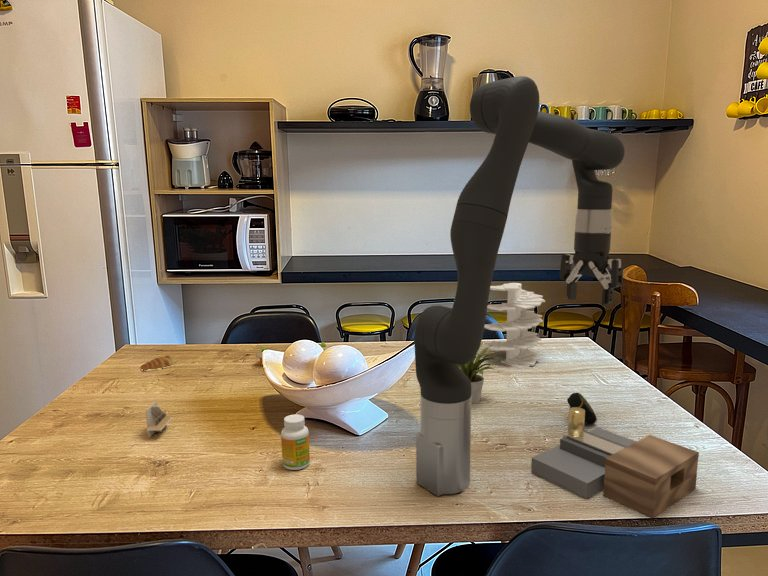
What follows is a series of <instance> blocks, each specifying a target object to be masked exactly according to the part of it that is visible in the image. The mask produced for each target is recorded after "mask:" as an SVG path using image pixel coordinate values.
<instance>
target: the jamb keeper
mask: <svg viewBox="0 0 768 576" xmlns="http://www.w3.org/2000/svg"><path fill="white" fill-rule="evenodd" d="M699 455H700V452H699V451H697V450H694V449H691V448H688V447H685V446H683V445H680V444H677V443H673V442H671V441H668V440H666V439H662V438H661V437H660V438H659V437H657V436H653V435H651V434H648V435H647V436H646V437H643V438H642V439H640V440H638V441H636V442H635V443H634V444H632V445H630V446H628V447H626V448H624V449H622V450H620V451H618V452H616V453H614V454H612V455H611V456H609V457H607V458H605V477H604V488H603V490H602V491H603V492H602V496H605V497H606V498H609V499H611V500H613V501H615V502H617V503H619V504H622V505H624V506H626V507H628V508H631V509H633V510H635V511H636V512H638V513H640V514H643V515H644V516H647V517H650V518H652V519H654V518H656V517H657V516H658V515H659V514H661V513H663V512H664V511H665V510H667V509H668V508H669V507H671V506H672V505H674V504H675V503H677V502H679V501H680V500H681V499H682V498H684V497H685V496H687V495H688V494H689V493H691V492H693V491H694V490H695V489H697V488H696V487H697V478H698V477H697V476H698V465H699V464H698V463H699Z"/></svg>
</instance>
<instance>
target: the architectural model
mask: <svg viewBox="0 0 768 576" xmlns="http://www.w3.org/2000/svg"><path fill="white" fill-rule="evenodd" d="M145 416H146V427H147V428H146V432H147V438H148V439H150V438H151V437H152V436H153V435H154V434H155V433H162V432H163V431H164V428H167V427H168V425H167V424H168V423H169V422H170V421H171V420H172V419H173V416H171V415H168V416H167V412H166V410H165V409H164V410H162V409H161V407H160V406H159V405H158V401H157V400H156V401H154V402H152V404H151V405H150V406H149V407H148V408H147V409H146V410H145Z"/></svg>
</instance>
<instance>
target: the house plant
mask: <svg viewBox="0 0 768 576" xmlns="http://www.w3.org/2000/svg"><path fill="white" fill-rule="evenodd" d="M484 342H485V340H484V341H481V344H480V347H479V349H478V351H477V353H476V355H475V356H474V357H473V359H472V360H471V361H469V362H468V363H466V364H461V365H460V364H457V365H458V367H459V368H460V369H461V371H462V372H463V373H464V374H465V375H466V376H467V377H468V378H469V379H470V381H471V405H473V404H478V403H479V402H480V401H481V396H482V391H483V385H484V380H485V377H484V376H483V375H484V371H485V370H494V371H496V369H495V368H497V367H495V364H492V363H484V362H486V361H490V360H494V359H498V357H492V356H491V357H488V356H490V354H492V353H494V351H490V352H487V351H488V350H489V349H488V348H490V347H491V346H492V345H491V346H488V347H486V348H485V347H484V349H483V350H481V351H480V353H478V352H479V350H480V349H481V346H482V344H484Z"/></svg>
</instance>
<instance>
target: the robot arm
mask: <svg viewBox="0 0 768 576" xmlns="http://www.w3.org/2000/svg"><path fill="white" fill-rule="evenodd" d="M539 108H540V92H539V89H538V85H537V84H536V82H535V80H533V78H530V77H528V76H524V75H523V76H513V77H508V78H502V79H499V80H494V81H490V82H486V83H484V84H482V85H480V86H479V87H477V88H476V89H475V90H474V92H473V93H472V96H471V98H470V102H469V113H470V117H471V120H472V122H473V124H474V125H475V126H476V127H477V128H478V129H479V130H480V131H482V132H483V133H487V134H491V135H495V136H494V138H493V143H492V145H491V148H490V150H489V152H488V153H487V155H486V157H485V158H484V160H483V161H482V163H481V165H480V166H479V167H478V168H477V170H476V171H475V172H474V173H473V175H472V176H471V177H470V178H469V180H468V181H467V183H465V185H464V187H463V188H462V191H461V192H460V194H459V195H458V196H459V197H458V199H457V200H456V201H457V202H456V204H455V205H456V206H455V210H454V213H453V218H452V222H451V226H450V235H449V236H450V237H449V238H450V244H451V248H452V249H451V250H452V255H453V258H454V262H455V266H456V267H455V268H456V272H457V273H456V275H457V283H456V292H455V296H454V301H453V305H452V307H448V306H444V305H443V306H442V305H431V306H428V307H426V308H425V309H424V310H423V311H421V313H420V314H419V316H418V318H417V321H416V324H415V326H414V327H415V328H414V339H413V340H414V341H413V342H414V360H415V361H414V364H415V376H416V379H417V383H418V384H419V387H420V389H419V390H420V433H418V434H417V435H416V437H415V439H416V441H415V445H416V446H415V447H416V450H415V453H416V454H415V455H416V460H415V461H416V463H415V464H416V465H415V466H416V469H415V472H416V473H415V474H416V476H415V478H416V479H415V480H416V483H417V484H418V485H419V486H422V488H424V489H426V490H428V491H429V492H431V493H433V494H434V495H436V496H438V497H440V496H441V495H451V494H452V495H453V494H457V493H461V492H463V491H465V490H466V489H468V488H469V486H470V483H471V445H472V444H471V441H472V440H471V438H472V437H471V436H472V434H471V433H472V428H471V427H472V404H471V381H470V379H469V378H468V377H467V376H466V375H465V374H464V373H463V372H462V371H461V369H460V368H459V367H458V365H457V364H460V365H461V364H466V363H468V362H469V361H471V360H472V359H473V357H474V356H475V355H476V353H478V352H479V350H480V348H481V347H480V344H481V343H482V342H483V341H482V340H483V337H484V331H485V328H484V326H485V324H486V318H487V311H488V308H487V305H489V299H490V298H489V297H490V291H491V290H490V286H492V281H493V276H494V272H495V266H496V263H497V257H498V254H499V251H500V250H499V249H500V246H501V243H502V239H503V236H504V233H505V227H506V224H507V222H508V221H507V220H508V215H509V211H510V206H511V202H512V198H513V193H514V190H515V186H516V182H517V178H518V176H519V172H520V169H521V165H522V162H523V159H524V156H525V154H526V150H527V149H528V148H527V147H528V145H529V144H532V145H535V146H538V147H540V148H543V149H545V150H548V151H550V152H551V153H554V154H556V155H559V156H560V157H563V158H565V159H568V160H571V164H572V167H573V172H574V176H575V182H576V186H577V187H576V188H577V207H576V209H577V210H576V216H575V221H574V222H575V224H574V239H573V241H574V243H573V250H574V255H573V254H572V253H565V254H562V255H561V257H560V258H561V261H560V268H559V279H560V280H561V281H565V283H566V297H567V298H568V300H570V301H573V300H576V299H577V291H578V290H577V289H578V281H579V279H580V278H581V277H582V276H585V277H586V276H589V277H591V278H596V279H597V281H599V282H600V284H601V285H602V287H603V288H602V292H601V293H602V294H601V306H603V307H607V306H608V307H609V306H610V305H611V304H612V303H613V296H614V289H615V288H619V287H620V288H621V287H623V284H624V282H623V281H624V260H623V259H622V258H615V259H613V258H612V259H610V251H611V239H612V228H613V226H612V225H613V218H612V216H613V214H612V205H613V185H612V184H611V183H610V182H607V181H602V180H599V179H598V178H597V175H596V171H602V170H603V171H605V170H607V171H610V170H612V169H615V168H617V167H618V166H619V165H620V164H621V163H622V162H623V160H624V157H625V146H624V143H623V141H622V140H621V139H620V138H619V137H618V136H616V134H612V133H610V132H606V131H601V130H599V129H592V128H588V127H586V126H584V125H582V124H580V123H579V122H577V121H575V120H574V119H571V118H568V117H566V116H563V115H559V114H554V113H548V112H543V111H540V109H539ZM573 263H574V265H575V266H574V268H573V269H572V264H573ZM608 267H609V268H610V269H611V274H610V272H609V270H608ZM576 282H577V283H576ZM479 347H480V348H479ZM478 349H479V350H478ZM477 351H478V352H477ZM476 356H477V355H476Z"/></svg>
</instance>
